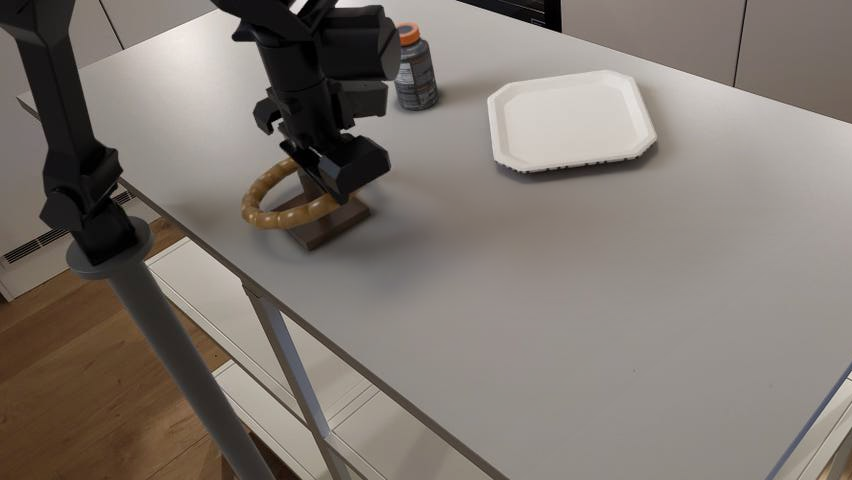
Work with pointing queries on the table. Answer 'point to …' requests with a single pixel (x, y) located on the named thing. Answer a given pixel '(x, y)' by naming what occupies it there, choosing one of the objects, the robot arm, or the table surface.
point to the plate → (569, 121)
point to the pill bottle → (415, 70)
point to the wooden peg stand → (329, 223)
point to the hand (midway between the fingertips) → (338, 199)
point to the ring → (287, 217)
